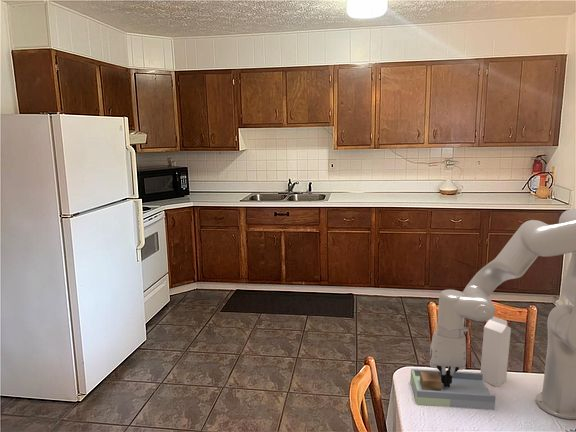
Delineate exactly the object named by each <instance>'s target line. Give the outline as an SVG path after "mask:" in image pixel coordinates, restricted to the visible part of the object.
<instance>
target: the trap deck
mask: <svg viewBox="0 0 576 432" xmlns="http://www.w3.org/2000/svg"><path fill="white" fill-rule="evenodd" d="M420 371H422V372H438V374H439V376H440V379H441V372H440V371H439V370H438V369H436V370H435V369H421V368H420V369H419V368H410V385H411V387H412V388H411V389H412V392H413V397H414V400H415V403H416V405H418V406H431V407H449V408H460V409H472V410H473V409H477V410H490V411H495V405H496V395H495V394H491V392H490V391H489V389H488V388H487V386H486V385H485V381H483V380H482V378H483V374H482V373H480V372H471V371H470V372H468V371H457V372H455V373H454V375H453V376H452V384H451V383H450V387H444V385H443V383H442V385H441V391H431V390H422V387H421V384H420Z"/></svg>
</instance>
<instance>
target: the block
mask: <svg viewBox="0 0 576 432" xmlns="http://www.w3.org/2000/svg"><path fill="white" fill-rule="evenodd" d="M420 384H421V387H422V390H431V391H441V385H442V381H441V379H440V376H439V374H438V372H422V371H420Z"/></svg>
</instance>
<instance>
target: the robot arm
mask: <svg viewBox="0 0 576 432" xmlns="http://www.w3.org/2000/svg"><path fill="white" fill-rule="evenodd" d="M566 254H571V256H570V260H569V264H568V267H567V269H566V273H565V276H564V280H563V282H562V286H561V292H562V295H563V296H564V298H565V299H566V300H567V301H568V302H570V303H571V305H570V304H559V305H556V306H554V307H553V308H552V309H551V310H550V312H549V314H548V317H547V326H546V327H547V348H546V357H545V364H544V365H545V367H544V374H543V375H544V376H543V384H542V385H543V386H542V391H541V392H539V393H537V394H536V396H535V403H536V404H537V406H538V407H539V408H540V409H542V410H543V411H544V412H546V413H548V414H550V415H552V416H554V417H558V418H561V419H565V420H576V208H570V209H567V210H565V211H563V212H562V213H561V214H560V216H559V218H558V223H555V224H548V223H545V222H544V221H541V220H538V219H537V220H536V219H530V220H527V221H525V222H523V223H522V224H521V225H520V226H519V228H518V229H517V230H516V231H515V232H514V234H513V235H512V237H511V238H510V239H509V240H508V241H507V243H506V244H505V246H503V248H502V249H501V250H500V252H499V253H498V254H497V256H496V257H495V258H494V259H493V260H491V261H490V262H488V263H487V264H486V265H484V266H483V267H481V268H480V269H479V270H478V271H477V272H476V273H475V275H473V277H471V279H470V281H469V282H468V283H467V284H466V286H465V288H464V289H463V291H462V292H461V291H459V290H456V289H443V290H441V291H440V293H439V295H438V308H437V309H438V311H437V324H436V325H437V326H436V330H434V331H433V335H432V337H431V338H432V339H431V343H430V352H429V358H430V360H429V367H431V368H433V369H436V370H439V371H440V372H441V381H442V383H443V385H444V387H450V383H451V384H452V376H453V375H454V373H455V372H459V371H462V370H465V369H467V367H466V364H467V342H466V336H465V333H468V332H469V327H466V326H464V324H465V319H468V320H472V321H477V322H488V321H489V320H490V319H491V318H492V317H495V314H496V306H495V305H494V302H493V300H492V299H491V298H490V296H491V294H492V293H493V292H494V291H495V290H496V289H497V287H498V286H500V285H502V283H504V282H506V281H509V280H514V279H519V278H522V277H523V276H524V274H526V272H527V271H528V269H529V268H530V267H531V266H532V264H533V263H534V262H535V261H536V259H537V258H538V257H544V258H545V257H554V256H555V257H556V256H561V255H566ZM446 367H448V368H447V369H446Z"/></svg>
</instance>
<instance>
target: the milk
mask: <svg viewBox="0 0 576 432" xmlns="http://www.w3.org/2000/svg"><path fill="white" fill-rule="evenodd" d="M511 332H512V327H510V326H508V321H507V320H505V319H502V318H499V317H496V316H493V317H492V318H491V319H490V320H487V321H486V324H485V325H484V326H483V336H482V337H483V338H482V349H481V361H480V372H479V373H482V374H483V378H482V380H483V382H484V383H485V382H486V383H488V384H490V385H492V386H494V387H496V388H497V387H499V386H500V385H502V384H504V383H505V382H507V375H508V366H509V365H508V364H509V356H510V355H509V354H510V345H511V344H510V343H511V342H510V341H511Z"/></svg>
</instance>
